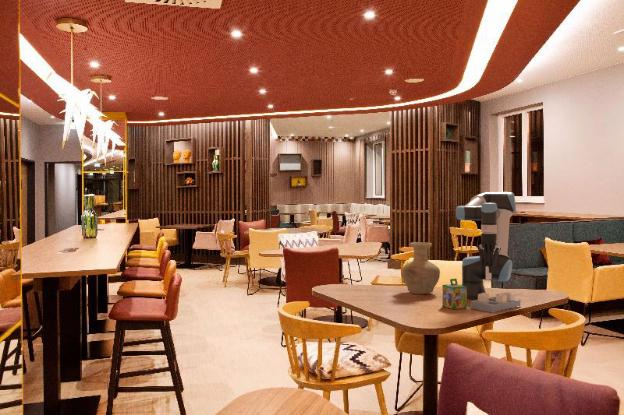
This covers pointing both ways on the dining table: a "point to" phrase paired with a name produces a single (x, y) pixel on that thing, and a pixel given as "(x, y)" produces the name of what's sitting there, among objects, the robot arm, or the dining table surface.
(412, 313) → the dining table surface
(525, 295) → the dining table surface
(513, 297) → the tab
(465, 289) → the chalk box
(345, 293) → the dining table surface
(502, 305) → the switch bank
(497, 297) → the tab
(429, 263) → the vase
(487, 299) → the tab
